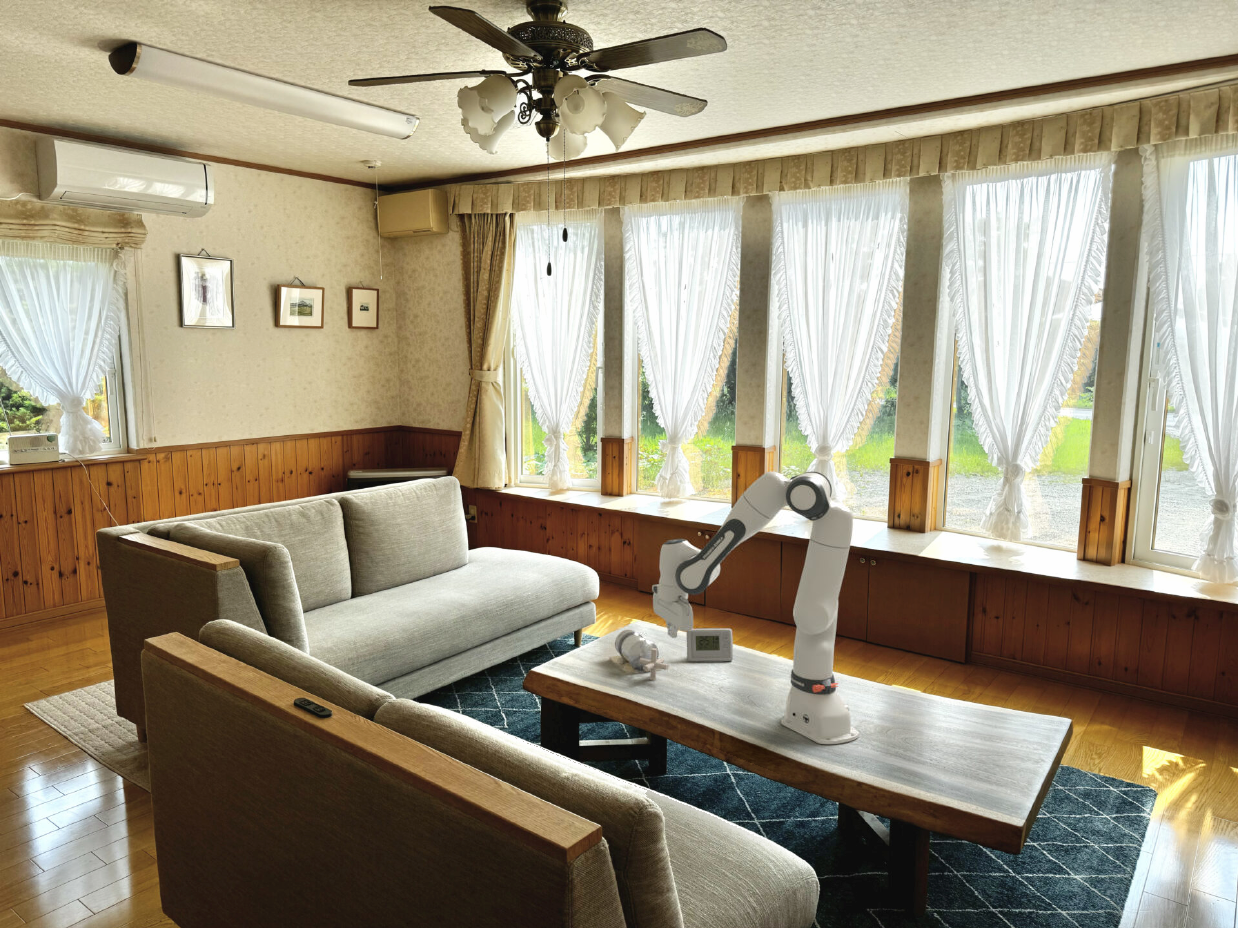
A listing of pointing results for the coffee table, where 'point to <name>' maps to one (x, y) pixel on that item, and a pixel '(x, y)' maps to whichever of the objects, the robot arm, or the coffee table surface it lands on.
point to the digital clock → (709, 645)
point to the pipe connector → (653, 664)
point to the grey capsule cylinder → (632, 652)
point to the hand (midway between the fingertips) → (672, 636)
